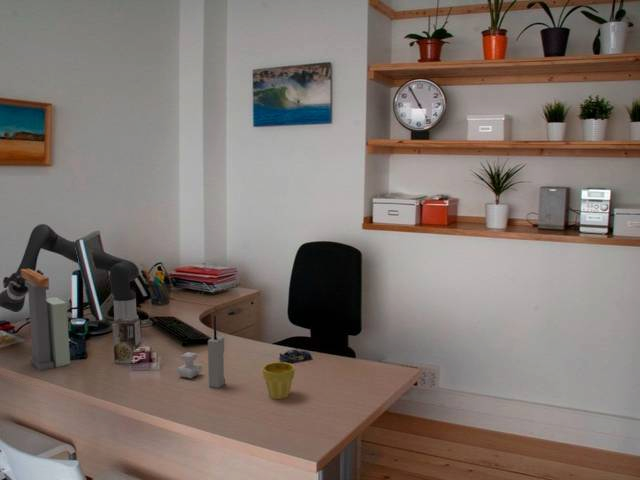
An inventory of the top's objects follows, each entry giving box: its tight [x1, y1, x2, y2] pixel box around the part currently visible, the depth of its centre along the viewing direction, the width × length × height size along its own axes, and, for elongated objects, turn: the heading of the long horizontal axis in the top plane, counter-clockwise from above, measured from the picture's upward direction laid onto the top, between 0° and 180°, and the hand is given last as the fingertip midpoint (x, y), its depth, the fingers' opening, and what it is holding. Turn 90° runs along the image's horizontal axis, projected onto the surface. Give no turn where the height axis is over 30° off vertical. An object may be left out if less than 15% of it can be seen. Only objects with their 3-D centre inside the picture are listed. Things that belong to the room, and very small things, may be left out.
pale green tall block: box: [46, 296, 71, 368], centre depth 236 cm, size 5×12×24 cm, turn 40°
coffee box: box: [111, 318, 143, 365], centre depth 237 cm, size 9×6×16 cm
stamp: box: [176, 351, 203, 379], centre depth 222 cm, size 9×7×8 cm
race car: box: [278, 349, 315, 364], centre depth 240 cm, size 15×7×4 cm, turn 125°
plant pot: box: [262, 361, 295, 400], centre depth 204 cm, size 10×10×10 cm
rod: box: [21, 269, 50, 287], centre depth 231 cm, size 3×24×3 cm, turn 41°
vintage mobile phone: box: [207, 315, 226, 389], centre depth 212 cm, size 4×5×25 cm
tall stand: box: [25, 280, 55, 371], centre depth 232 cm, size 5×12×32 cm, turn 40°
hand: (27, 273), depth 237 cm, fingers open, 8 cm apart
